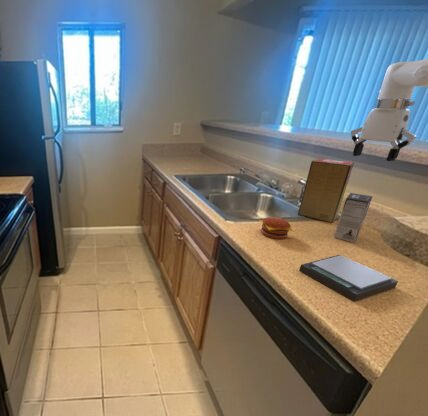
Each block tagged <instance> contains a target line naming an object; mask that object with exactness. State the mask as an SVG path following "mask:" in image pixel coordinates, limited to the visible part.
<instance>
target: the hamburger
mask: <svg viewBox="0 0 428 416" xmlns="http://www.w3.org/2000/svg"><path fill="white" fill-rule="evenodd" d="M259 222H260V223H262V224H261V229H260V232H261V234H262V235H263V236H265V237H266V238H267V237H268V238H270V239H274V240H275V239H276V240H284V239H287V237H288V235H289V232H290V231H291V232H294V229H292V227H291V223H290V222H289V221H288V220H286V219H284V218H282V217H279V216H268V217H266V218H264V219H261V220H259Z"/></svg>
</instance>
